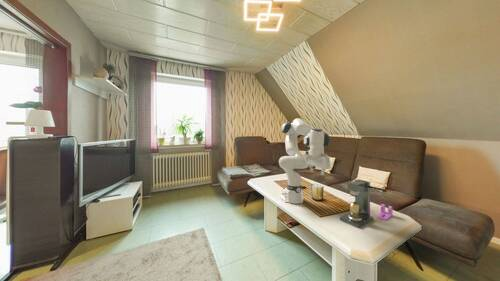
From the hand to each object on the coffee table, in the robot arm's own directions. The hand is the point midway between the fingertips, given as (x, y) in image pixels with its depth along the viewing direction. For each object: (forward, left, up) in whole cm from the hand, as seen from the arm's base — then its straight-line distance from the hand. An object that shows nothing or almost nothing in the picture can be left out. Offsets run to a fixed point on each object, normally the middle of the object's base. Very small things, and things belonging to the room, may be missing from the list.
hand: (317, 173), depth 115 cm
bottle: (+12, +20, -29) cm, 37 cm away
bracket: (+16, +43, -32) cm, 56 cm away
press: (+15, +23, -31) cm, 41 cm away
